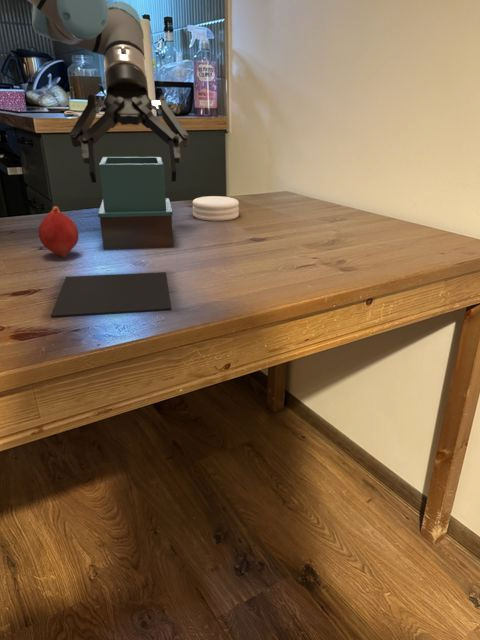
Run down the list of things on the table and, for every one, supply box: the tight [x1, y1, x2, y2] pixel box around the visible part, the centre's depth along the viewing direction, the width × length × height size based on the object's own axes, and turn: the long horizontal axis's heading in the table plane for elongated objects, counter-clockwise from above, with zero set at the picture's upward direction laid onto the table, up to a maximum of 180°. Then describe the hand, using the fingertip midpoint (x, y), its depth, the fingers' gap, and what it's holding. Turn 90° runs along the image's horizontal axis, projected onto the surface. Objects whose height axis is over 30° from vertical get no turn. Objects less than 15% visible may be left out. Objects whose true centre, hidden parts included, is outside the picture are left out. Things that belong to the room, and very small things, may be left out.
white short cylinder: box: [192, 195, 240, 222], centre depth 108 cm, size 10×10×4 cm
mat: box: [50, 271, 172, 319], centre depth 66 cm, size 14×14×1 cm
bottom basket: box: [99, 215, 174, 251], centre depth 89 cm, size 12×12×6 cm
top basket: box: [97, 156, 174, 218], centre depth 85 cm, size 12×12×8 cm
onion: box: [38, 206, 79, 258], centre depth 78 cm, size 6×6×8 cm
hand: (134, 177), depth 86 cm, fingers open, 13 cm apart
